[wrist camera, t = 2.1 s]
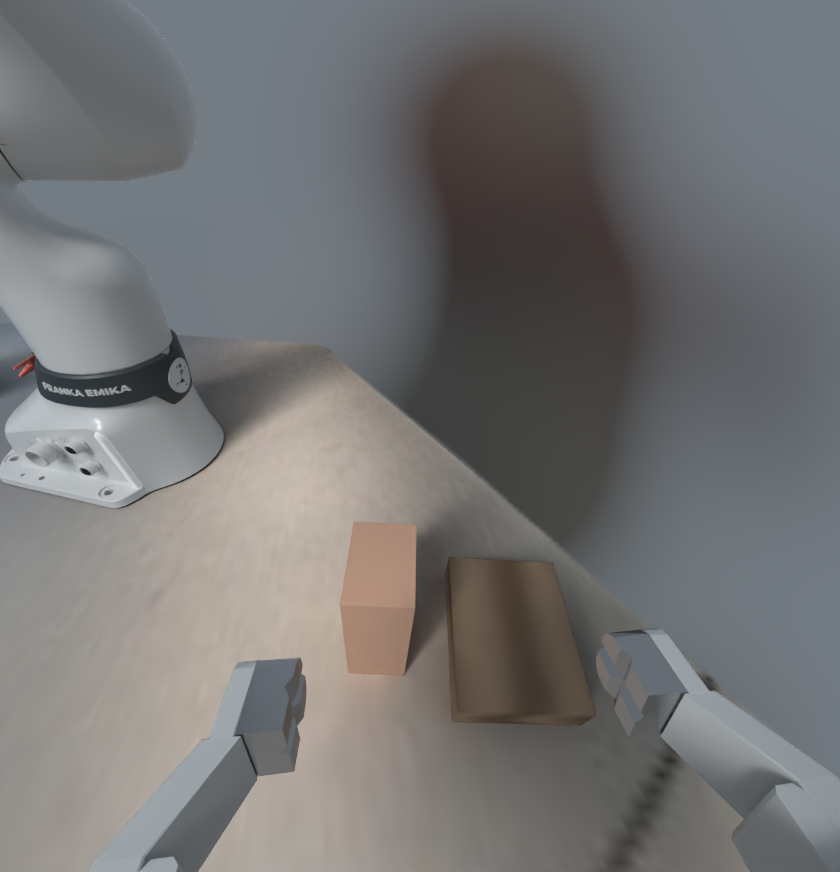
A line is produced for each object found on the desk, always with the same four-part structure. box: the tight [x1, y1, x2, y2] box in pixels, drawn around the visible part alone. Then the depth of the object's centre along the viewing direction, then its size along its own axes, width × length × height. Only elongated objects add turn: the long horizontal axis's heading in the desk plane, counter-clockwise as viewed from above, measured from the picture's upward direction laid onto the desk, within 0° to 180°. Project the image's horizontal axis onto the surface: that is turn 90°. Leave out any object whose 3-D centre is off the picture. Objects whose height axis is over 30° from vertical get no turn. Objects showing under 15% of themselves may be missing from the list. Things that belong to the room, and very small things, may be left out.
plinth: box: [445, 558, 596, 725], centre depth 32 cm, size 10×12×3 cm
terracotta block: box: [340, 522, 416, 675], centre depth 29 cm, size 4×6×12 cm
